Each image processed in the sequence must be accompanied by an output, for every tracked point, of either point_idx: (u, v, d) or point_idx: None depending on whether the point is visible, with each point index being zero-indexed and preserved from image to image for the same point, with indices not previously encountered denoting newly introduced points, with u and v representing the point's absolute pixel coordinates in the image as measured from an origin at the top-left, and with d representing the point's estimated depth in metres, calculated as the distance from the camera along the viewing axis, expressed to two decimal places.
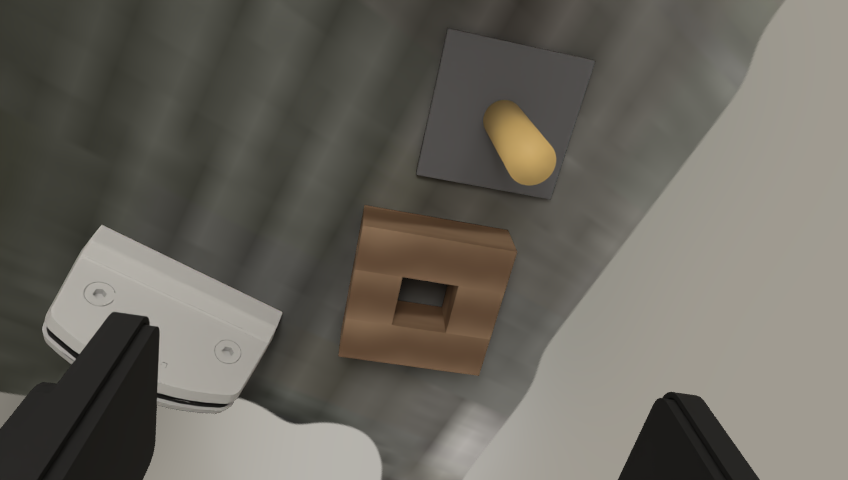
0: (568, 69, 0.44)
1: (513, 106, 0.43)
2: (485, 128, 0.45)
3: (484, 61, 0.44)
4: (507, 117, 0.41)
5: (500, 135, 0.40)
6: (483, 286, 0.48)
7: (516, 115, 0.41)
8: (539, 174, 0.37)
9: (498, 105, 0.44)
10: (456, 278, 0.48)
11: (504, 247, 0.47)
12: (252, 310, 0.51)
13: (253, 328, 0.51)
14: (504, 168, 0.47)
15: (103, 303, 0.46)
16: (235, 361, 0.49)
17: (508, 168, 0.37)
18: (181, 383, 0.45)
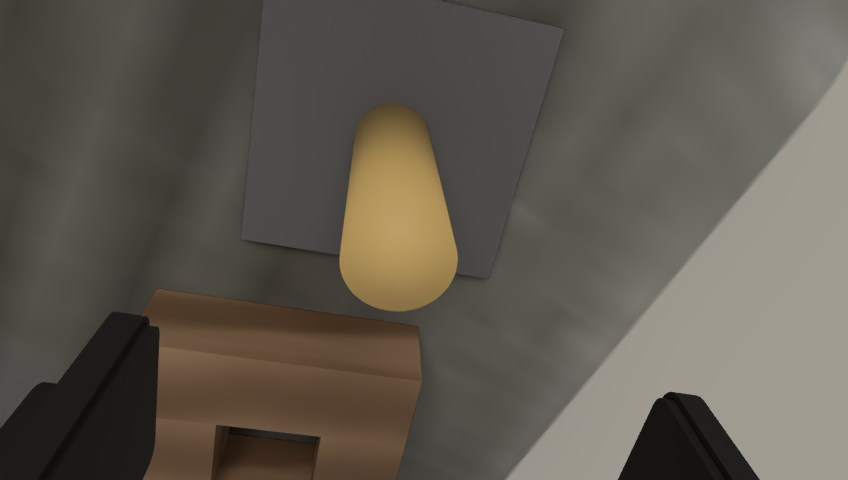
0: (513, 45, 0.23)
1: (401, 118, 0.22)
2: None
3: (346, 29, 0.22)
4: (375, 145, 0.19)
5: (350, 187, 0.18)
6: (366, 436, 0.27)
7: (393, 139, 0.20)
8: (420, 288, 0.16)
9: (375, 115, 0.23)
10: (315, 425, 0.26)
11: (399, 372, 0.26)
12: None
13: None
14: None
15: None
16: None
17: (344, 275, 0.16)
18: None
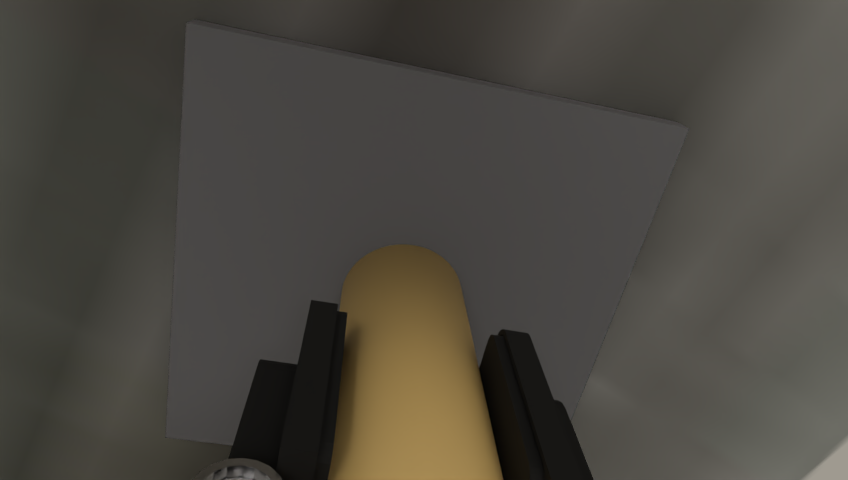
0: (603, 153, 0.14)
1: (419, 285, 0.13)
2: None
3: (325, 132, 0.13)
4: (373, 375, 0.10)
5: None
6: None
7: (407, 363, 0.10)
8: None
9: (375, 273, 0.14)
10: None
11: None
12: None
13: None
14: None
15: None
16: None
17: None
18: None
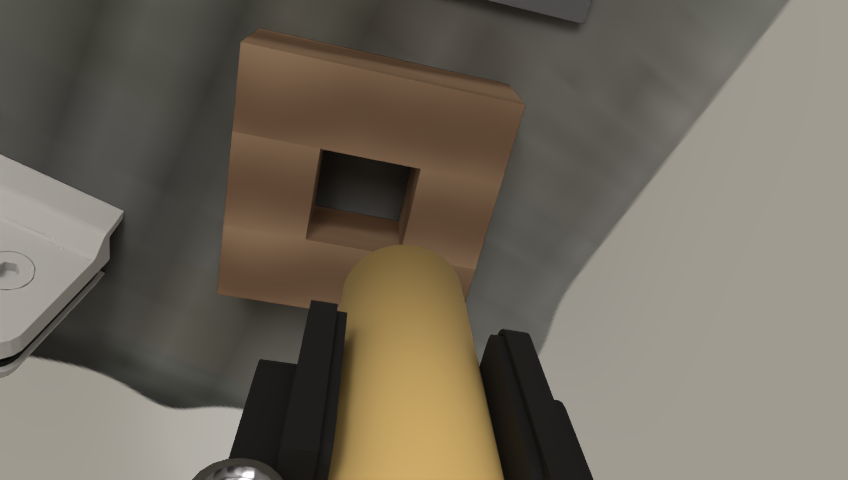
0: None
1: (420, 285, 0.13)
2: None
3: None
4: (373, 376, 0.10)
5: None
6: (464, 170, 0.27)
7: (407, 364, 0.10)
8: None
9: (375, 274, 0.13)
10: (416, 154, 0.27)
11: (502, 98, 0.26)
12: (64, 204, 0.30)
13: (65, 234, 0.30)
14: None
15: None
16: (20, 286, 0.28)
17: None
18: None
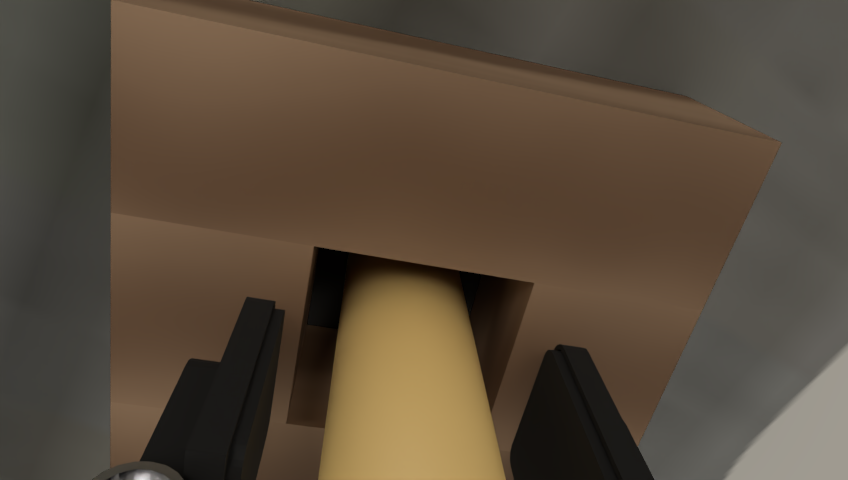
0: None
1: None
2: None
3: None
4: (375, 319, 0.12)
5: (330, 415, 0.10)
6: (628, 284, 0.13)
7: (406, 309, 0.12)
8: None
9: None
10: (527, 253, 0.12)
11: (725, 127, 0.12)
12: None
13: None
14: None
15: None
16: None
17: None
18: None
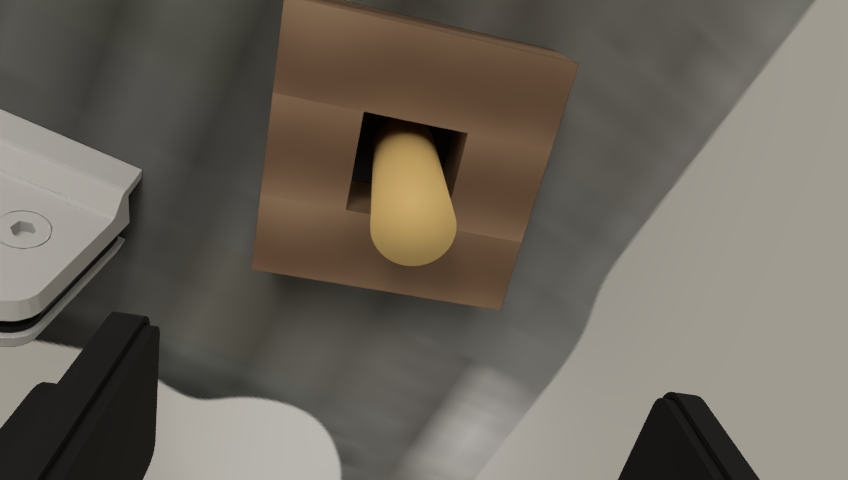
0: None
1: (412, 127, 0.28)
2: None
3: None
4: (393, 146, 0.25)
5: (375, 177, 0.24)
6: (513, 135, 0.26)
7: (407, 142, 0.25)
8: (429, 248, 0.21)
9: (391, 125, 0.29)
10: (464, 117, 0.26)
11: (554, 57, 0.25)
12: (79, 162, 0.28)
13: (81, 193, 0.28)
14: None
15: None
16: (36, 245, 0.26)
17: (373, 238, 0.21)
18: None
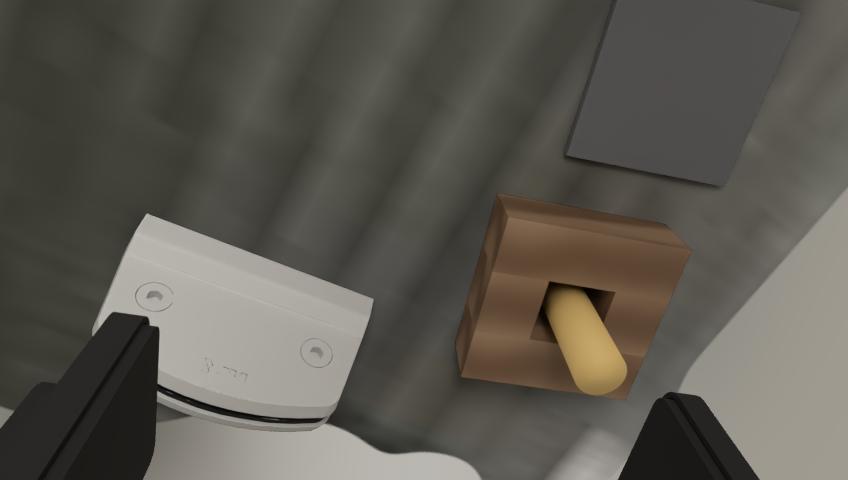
0: (768, 23, 0.36)
1: None
2: None
3: (665, 12, 0.35)
4: (568, 304, 0.38)
5: (562, 330, 0.37)
6: (645, 292, 0.39)
7: (577, 301, 0.39)
8: (608, 384, 0.35)
9: None
10: (614, 282, 0.39)
11: (675, 245, 0.38)
12: (338, 299, 0.42)
13: (342, 321, 0.41)
14: (673, 148, 0.39)
15: (160, 307, 0.37)
16: (327, 364, 0.39)
17: (575, 379, 0.34)
18: (267, 397, 0.36)
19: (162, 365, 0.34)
